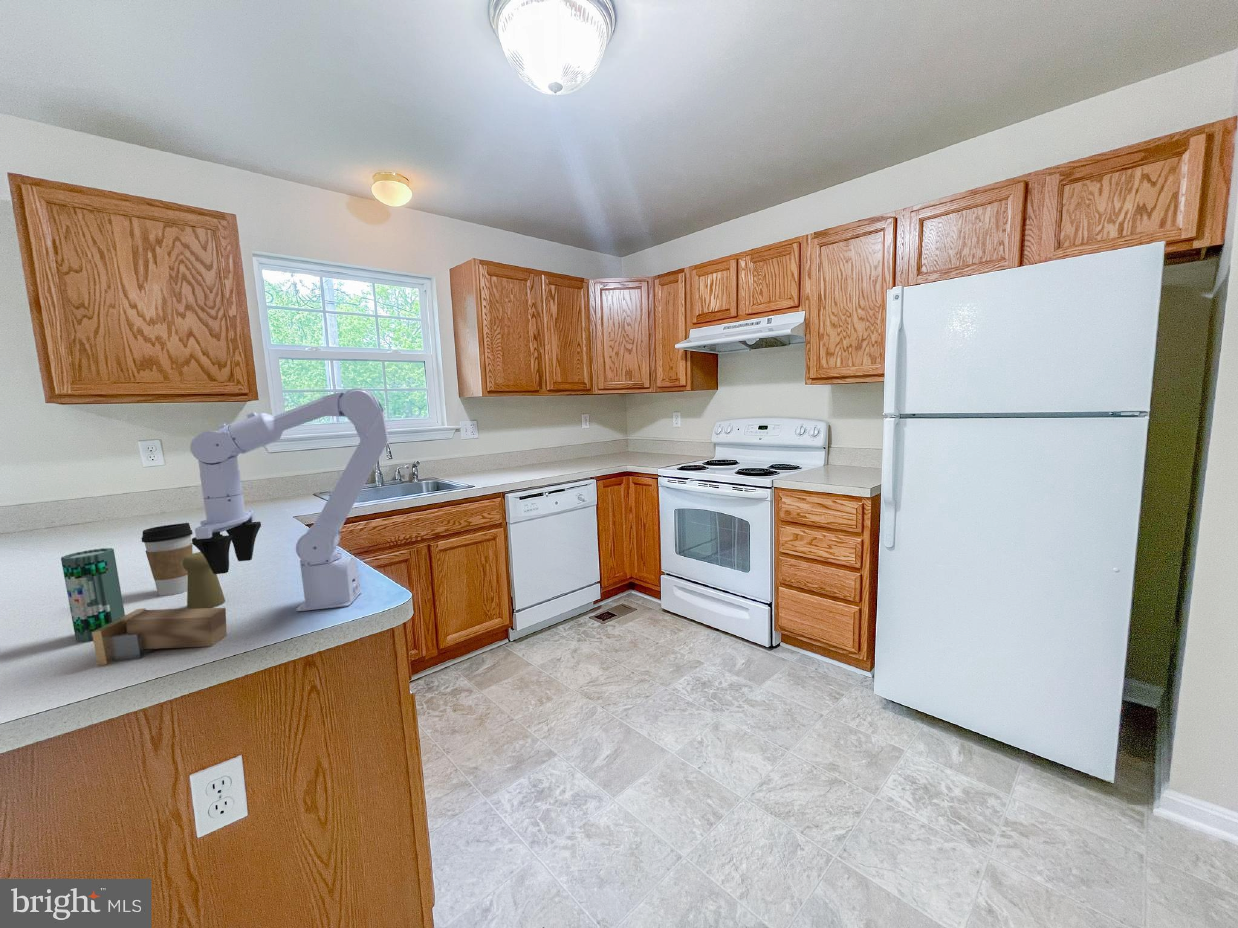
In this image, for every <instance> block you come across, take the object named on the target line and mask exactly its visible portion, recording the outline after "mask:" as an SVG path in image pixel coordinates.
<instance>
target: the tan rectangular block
mask: <svg viewBox="0 0 1238 928" xmlns="http://www.w3.org/2000/svg"><path fill="white" fill-rule="evenodd" d="M226 609H227V608H226V607H213V608H199V609H187V608H176V609H175V608H174V609H173V608H172V609H171V608H169V609H146V610H145V611H143V612H141V613H139V614H137V615H135V616H133V617H131V618H129V619H127V620H126V623H127V634H129V633H138V632H141V638H142V644H143V649H154V648H156V649H170V648H171V649H173V648H177V649H178V648H179V649H180V648H196V647H197V648H199V647H202V648H204V647H213V646H215V645H216V644H217V643H219V642H220V641H221V640H223V639H224V638H225V637H226V636H227V635H228V634H227V613H226V612H227V611H226ZM154 650H155V649H154Z"/></svg>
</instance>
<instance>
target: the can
mask: <svg viewBox="0 0 1238 928" xmlns="http://www.w3.org/2000/svg"><path fill="white" fill-rule="evenodd" d="M116 560H117V559H116V555H115V550H114V548H112V547H108V548H107V547H106V548H105V547H103V548H97V549H96V548H95V549H89V550H83V551H77V552H74V553H73V552H72V553H69V554H66V555H64V556H61V558H60V561H61V566H62V574H63V577H64V583H65V588H66V595H67V599H68V605H69V610H70V615H71V620H72V626H73V627H72V628H73V631H74V636H75V641H77V642H83V643H84V642H90V641H93V635H92V632H93V631H95V630H97V629H99V628H101V627H103V626H105V625H107V624H109V623H111V622H113V621H115V620H117V619H119V618H121V617H123V616H125V615H126V612H125V607H124V602H123V601H124V600H123V596H122V590H121V584H120V579H119V571H118V567H117V561H116Z"/></svg>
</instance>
